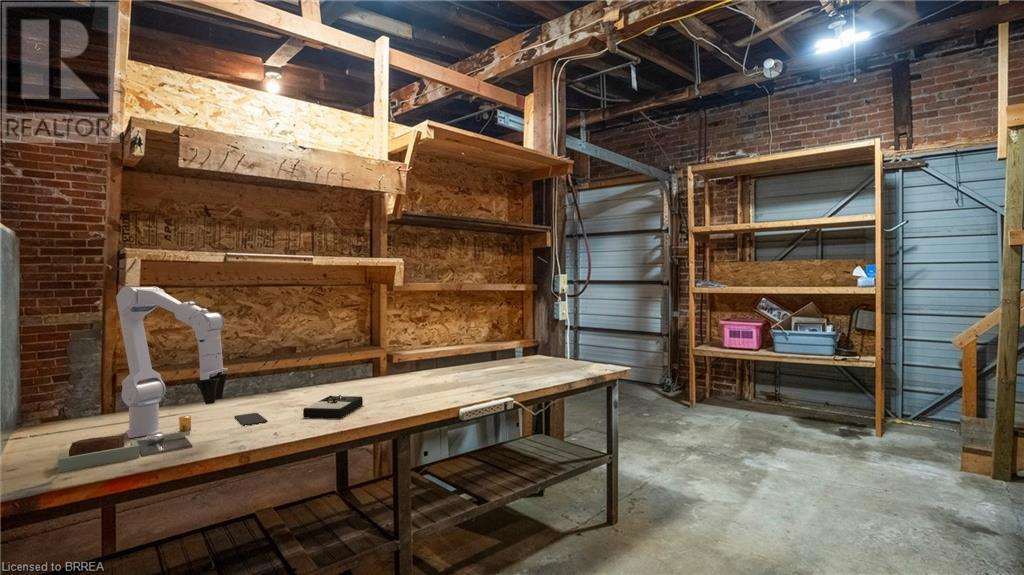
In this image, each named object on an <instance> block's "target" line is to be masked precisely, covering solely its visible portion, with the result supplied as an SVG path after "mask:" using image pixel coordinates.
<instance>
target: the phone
mask: <svg viewBox="0 0 1024 575" xmlns="http://www.w3.org/2000/svg"><path fill="white" fill-rule="evenodd" d="M234 417H235V418H236V419H237V420H238V421H239V422H240V423H241V424H242V425H244V426H243V427H246V426H245V425H250V426H253V425H252V424H256V425H260V424H259V423H262V424H267V423H268V420H267V419H266V418H265V417H264V416H262V415H261V414H259V413H258V412H251V413H244V414H237V415H234ZM235 418H234V419H235ZM236 419H235V420H236ZM237 420H236V421H237ZM238 421H237V422H238ZM239 422H238V423H239ZM266 422H267V423H266ZM240 423H239V424H240ZM241 424H240V425H241ZM242 425H241V426H242Z"/></svg>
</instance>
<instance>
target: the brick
mask: <svg viewBox="0 0 1024 575" xmlns="http://www.w3.org/2000/svg"><path fill="white" fill-rule="evenodd" d="M122 447H125V437H124V434H121V435H120V434H119V435H118V434H117V435H112V436H111V435H109V436H100V437H91V438H86V439H85V438H84V439H80V440H76V441H73V442H72V443H71V445H70V447H69V449H68V457H70V456H76V455H82V454H87V453H93V452H99V451H105V450H110V449H116V448H122Z"/></svg>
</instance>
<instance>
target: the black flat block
mask: <svg viewBox="0 0 1024 575" xmlns="http://www.w3.org/2000/svg"><path fill="white" fill-rule="evenodd" d="M363 400H364V399H363V396H347V395H346V396H345V395H341V394H340V395H339V394H338V395H328V396H326V397H324V398H322V399H320V400H318V401H316V402H314V403H311V404H309V405H307V406H305V407H304V408H303V410H302V411H303V412H302V415H303V416H302V418H303V417H310V418H309V419H328V418H340V419H342V418H344V417H345V416H344V415H346V414H347V415H348V413H349V412H351V411H352V412H354V411H356V410H357V409H359V408H361V407H362V406H364V405H363V404H364V401H363ZM361 405H362V406H361ZM360 406H361V407H360ZM358 407H359V408H358ZM356 408H357V409H356ZM355 409H356V410H355ZM353 410H354V411H353ZM352 412H351V413H352ZM349 414H350V413H349ZM347 415H346V416H347ZM343 416H344V417H343ZM341 417H342V418H341Z"/></svg>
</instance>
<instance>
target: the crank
mask: <svg viewBox="0 0 1024 575" xmlns="http://www.w3.org/2000/svg"><path fill="white" fill-rule="evenodd" d="M178 420H179V423H178V424H179V425H178V426H179V428H178V430H176V431H171V432H162V433H154V434H150V435H146V439H147V442H148V443H155V442H160V441H163V440H167V439H173V438H179V437H184V436H185V437H189V436H191V430H192V416H191V415H182V416H179V418H178Z"/></svg>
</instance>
